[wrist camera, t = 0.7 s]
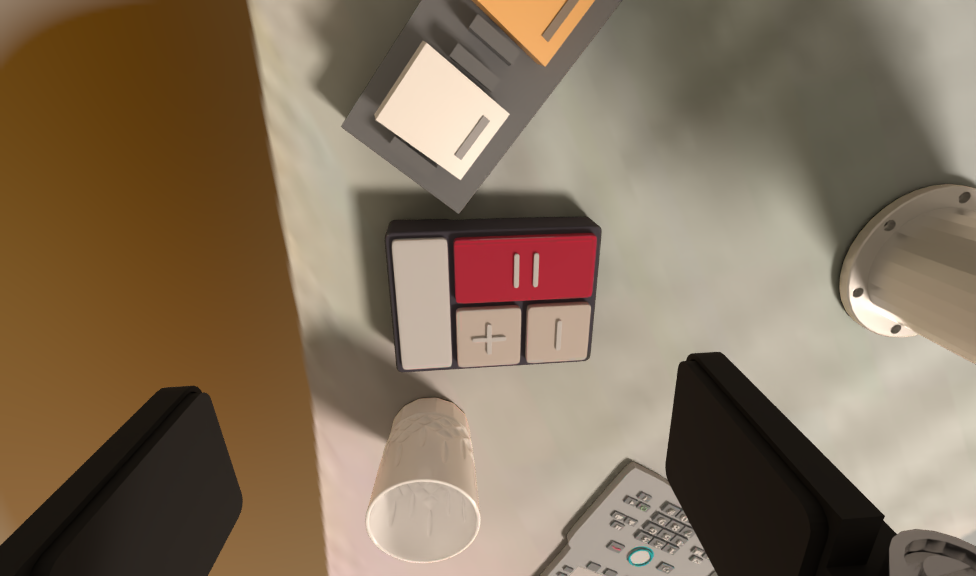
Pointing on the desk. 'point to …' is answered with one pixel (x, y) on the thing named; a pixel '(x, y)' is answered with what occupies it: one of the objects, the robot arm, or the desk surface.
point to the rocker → (440, 111)
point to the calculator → (492, 291)
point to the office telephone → (633, 532)
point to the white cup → (425, 485)
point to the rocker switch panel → (485, 62)
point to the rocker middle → (536, 23)
